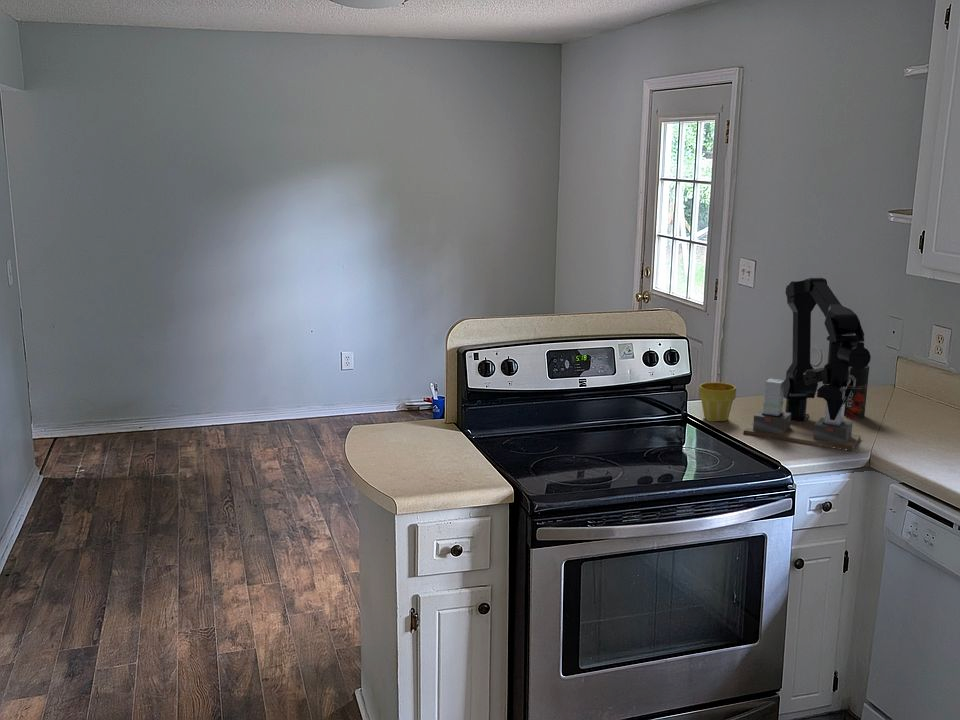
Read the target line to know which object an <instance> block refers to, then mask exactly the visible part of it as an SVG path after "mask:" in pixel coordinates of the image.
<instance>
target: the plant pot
mask: <svg viewBox="0 0 960 720" xmlns="http://www.w3.org/2000/svg"><path fill="white" fill-rule="evenodd" d="M736 396H737V388H736V386H735V385H733V384H732V383H727V382H717V381H716V382H714V381H713V382H703V383H701V384H699V386H698V397H699V398H700V399H701V404H702V410H703V412H702V413H703V418H704V417H705V418H706V419H708V420H711V421H710V422H713V421H724V422H727V421H728V420H729V416H730V413H731V411H732V406H733V402H734V400H735V399H736ZM705 418H704V419H705ZM706 419H705V420H706ZM708 420H707V421H708ZM726 420H727V421H726Z"/></svg>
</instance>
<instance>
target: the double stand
mask: <svg viewBox="0 0 960 720" xmlns="http://www.w3.org/2000/svg"><path fill="white" fill-rule="evenodd" d="M824 421H825V417H823V416H822V417H820V419H818V421H816V422H815V424H814V427H807V426H799V425H793V424H791V422H792V419H791V413H787V412H785V411H782V413H781V414H780V415H779V416H773V415H766V414H764V408H761V409H760V410H759V411H758V412H757V413H755V414H754V415H753V422H752V423H750V424H749V425H748V426H747V427H746V428H745V429H743V432H742V434H743V435H748V436H754V437H761V438H767V439H768V438H769V439H774V440H779V441H780V440H781V441H785V442H792V443H797V444H798V443H799V444H803V445H804V444H805V445H810V444H813V445H812V446H816V445H821V446H820V447H822V446H827V447H826V448H828V447H835V448H841V449H847V450H852V449H853V450H854V448H855V447H856V446H857V444H858V443H859V442H858V441H860V440H861V435H859V434H852V432H853V431H852V430H853V423H854V422H853V421H849V420H848V421H847V420H843V424H844V425H843V426H842V427H837V426H831V425H824ZM859 439H860V440H859ZM857 442H858V443H857ZM855 445H856V446H855ZM854 446H855V447H854ZM853 447H854V448H853ZM835 448H834V449H835ZM841 449H840V450H841ZM847 450H846V451H847ZM853 450H852V451H853Z"/></svg>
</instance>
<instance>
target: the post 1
mask: <svg viewBox="0 0 960 720" xmlns="http://www.w3.org/2000/svg"><path fill="white" fill-rule="evenodd" d="M784 383H785V379H776V378H768V379H767V380H766V381H765V385H764V386H765V389H764V400H763V401H764V402H763V409H764V414H766V415H773V416H779V415H780V414H781V413H782V412H783V407H784V397H783V395H784Z"/></svg>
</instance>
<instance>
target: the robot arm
mask: <svg viewBox="0 0 960 720" xmlns="http://www.w3.org/2000/svg"><path fill="white" fill-rule="evenodd" d="M785 295H786V296H785V297H786V302H787V305H788V306H789V308H790V309H791V312H792V359H791V360H792V363H791V364H790V366H789V367H788V369H787V370H786V374H785V379H784V380H785V383H784V395H783V399H785V411H784V412H787V413H791V420H795V421H801V422H805V421H806V420H807V419H808V418H809V417H810V414H808V413H807V405H808V399H815V396H816V398H819V399H824V401H826V403H827V405H828V411H829V416H830V420H835V418H836V416H837V414H838V412H839V410H840V408H841V406H842V404H843V403H845V402H846V401H847V399H848V397H849V395H850V393H851V392H852V390H851V389H847V386H848V385H851V387H853V388H854V387H855V385H856V378H855V377H854V376H853V375H850V369H851V368H855V369H863V368H865V367H866V366H867V365H868V366H869V363H870V362H871V358H872V356H871V353H870V351H869V350H868V349H867V348H866V347H865V332H864V331H863V327H862V325H861V321H860V318H859V317H858V315H857V314H856V313H855V312H854V311H853V309H851V308H849V307H845V306H843V304H842V303H841V302H840V301H839V299H838V297H837V296H836V295H835V293H833V290H831V288H830V286H829V285H828V281H827V279H826V278H823V277H809V278H806V279H803V280H798V281H796V280H795V281H790V283H789V284H788V285H786V287H785ZM815 306H818V308H819V309H820V311H821V312H822V314H823V315H824V317H825V321H824V326H825V329H826V331H827V334H828V336H827V337H826V340H827V341H829V343H828V354H827V355H828V356H827V362H826V363H825V365H824V367H820V368H819V367H818V368H814V367H813V365H812V364H811V341H812V340H811V339H812V338H811V337H812V336H811V334H812V332H811V331H812V312H813V310H814V309H815ZM819 383H822V385H821V386H820V387H819ZM818 387H819V388H818ZM816 393H817V394H816Z"/></svg>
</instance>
